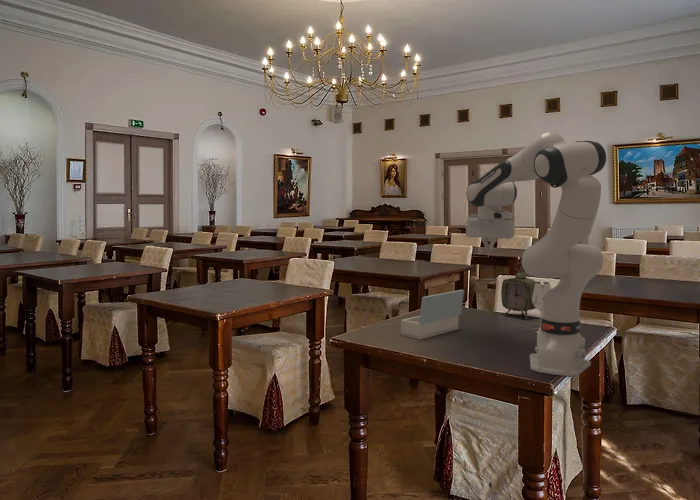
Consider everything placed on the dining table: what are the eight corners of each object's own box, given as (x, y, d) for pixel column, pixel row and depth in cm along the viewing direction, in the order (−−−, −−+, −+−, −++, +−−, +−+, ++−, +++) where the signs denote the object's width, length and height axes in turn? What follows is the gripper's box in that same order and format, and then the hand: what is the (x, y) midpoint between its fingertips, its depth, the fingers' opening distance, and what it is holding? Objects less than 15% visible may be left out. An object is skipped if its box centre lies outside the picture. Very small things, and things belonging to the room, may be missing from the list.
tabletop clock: (500, 315, 247) (501, 262, 244) (513, 313, 252) (514, 260, 250) (527, 321, 235) (528, 264, 233) (539, 318, 240) (541, 263, 238)
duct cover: (459, 314, 221) (461, 314, 220) (419, 323, 205) (421, 324, 204) (462, 289, 219) (464, 290, 218) (422, 297, 203) (424, 297, 202)
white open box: (458, 329, 221) (458, 314, 221) (419, 339, 206) (419, 324, 205) (439, 325, 229) (439, 311, 228) (400, 334, 213) (400, 319, 212)
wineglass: (539, 334, 212) (540, 284, 210) (527, 329, 219) (528, 281, 217) (555, 332, 214) (557, 283, 212) (543, 328, 221) (544, 280, 219)
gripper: (462, 214, 213) (462, 248, 214) (507, 214, 198) (507, 251, 199) (472, 213, 217) (471, 247, 219) (516, 214, 202) (516, 250, 203)
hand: (489, 249), depth 209 cm, fingers closed
